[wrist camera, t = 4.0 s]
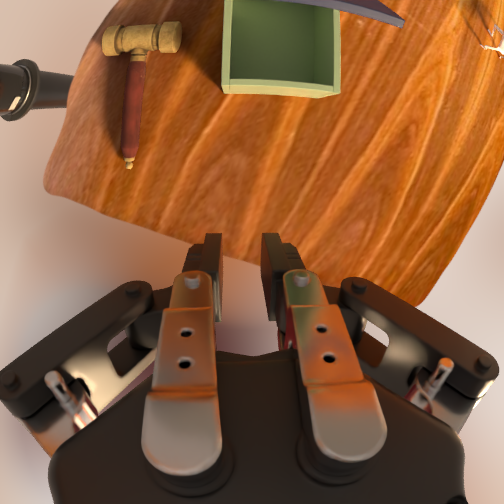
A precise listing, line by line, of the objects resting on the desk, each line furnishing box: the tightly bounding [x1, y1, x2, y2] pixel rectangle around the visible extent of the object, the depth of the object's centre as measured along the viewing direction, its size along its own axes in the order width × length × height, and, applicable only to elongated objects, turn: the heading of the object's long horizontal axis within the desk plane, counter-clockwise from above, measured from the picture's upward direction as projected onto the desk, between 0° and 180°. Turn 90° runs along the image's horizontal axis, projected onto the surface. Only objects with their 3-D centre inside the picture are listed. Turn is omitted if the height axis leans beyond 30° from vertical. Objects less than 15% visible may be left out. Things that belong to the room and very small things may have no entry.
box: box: [221, 0, 341, 98], centre depth 26 cm, size 16×13×9 cm
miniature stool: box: [480, 24, 504, 58], centre depth 25 cm, size 12×8×5 cm
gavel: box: [102, 21, 182, 169], centre depth 30 cm, size 21×5×10 cm
